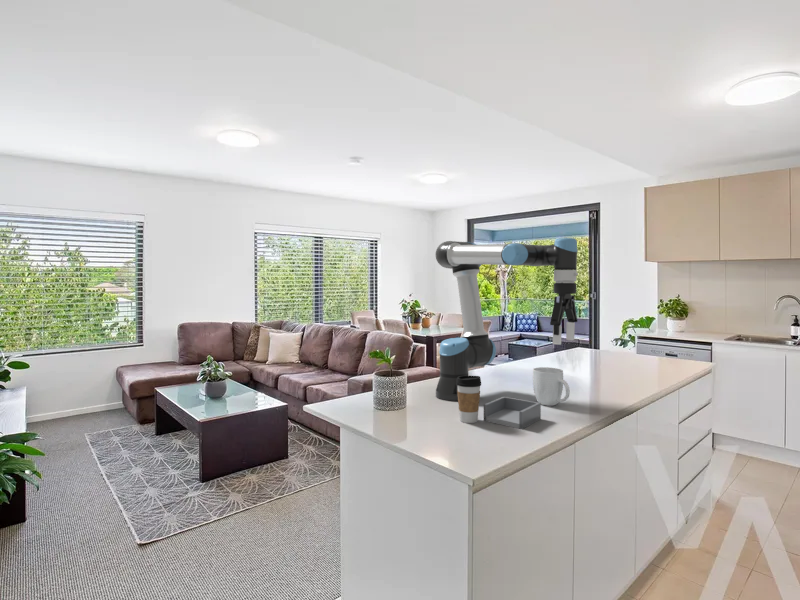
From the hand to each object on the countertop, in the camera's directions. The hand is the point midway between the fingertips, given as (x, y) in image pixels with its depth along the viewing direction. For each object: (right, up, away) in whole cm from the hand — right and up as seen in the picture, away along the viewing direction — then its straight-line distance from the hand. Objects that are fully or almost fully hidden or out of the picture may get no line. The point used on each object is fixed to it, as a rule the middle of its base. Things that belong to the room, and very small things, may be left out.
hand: (563, 342), depth 163 cm
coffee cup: (-35, -26, -8) cm, 44 cm away
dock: (-20, -26, -7) cm, 33 cm away
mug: (-1, -25, +12) cm, 28 cm away
